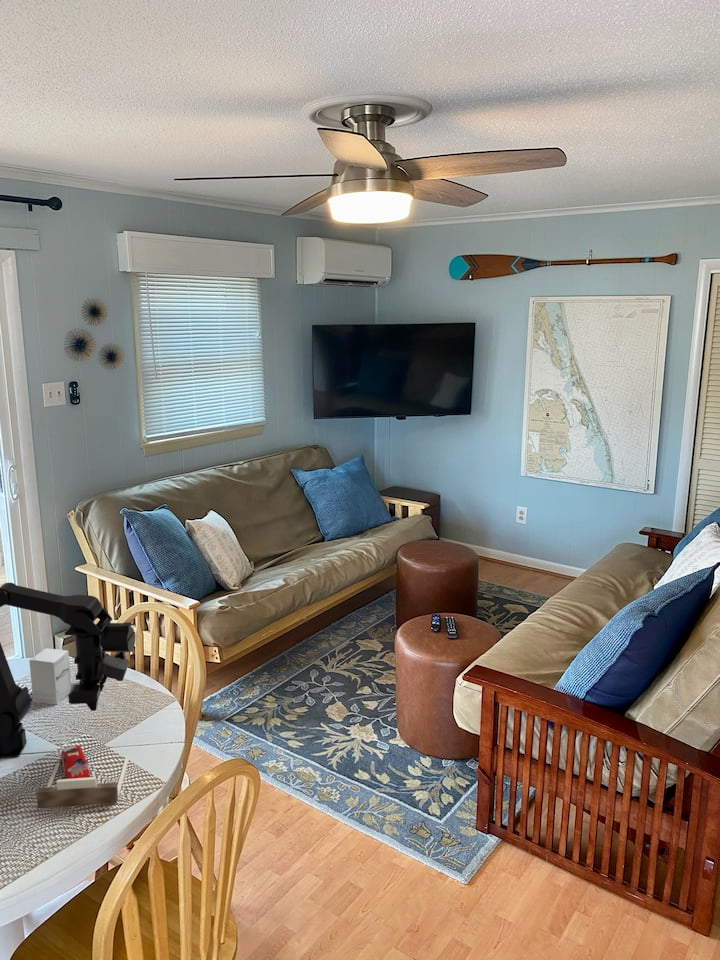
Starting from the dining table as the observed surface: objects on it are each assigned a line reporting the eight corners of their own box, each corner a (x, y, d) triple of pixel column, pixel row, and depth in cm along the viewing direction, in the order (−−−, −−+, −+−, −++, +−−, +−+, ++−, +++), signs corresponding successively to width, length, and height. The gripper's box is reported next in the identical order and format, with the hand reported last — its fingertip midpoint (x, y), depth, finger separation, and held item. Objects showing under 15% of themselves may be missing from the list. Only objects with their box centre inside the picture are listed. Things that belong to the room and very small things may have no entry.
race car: (92, 784, 165) (91, 769, 164) (66, 791, 162) (65, 776, 161) (83, 752, 176) (82, 738, 175) (59, 758, 174) (58, 744, 173)
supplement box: (56, 705, 195) (53, 662, 192) (32, 702, 197) (28, 659, 194) (72, 691, 202) (69, 650, 199) (48, 688, 204) (45, 647, 201)
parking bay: (37, 808, 156) (35, 784, 155) (56, 764, 171) (54, 741, 170) (116, 802, 159) (115, 778, 157) (128, 759, 173) (127, 737, 172)
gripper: (117, 668, 162) (122, 730, 166) (131, 630, 180) (135, 687, 183) (65, 670, 160) (71, 733, 164) (84, 633, 178) (89, 690, 182)
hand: (93, 709), depth 173 cm, fingers closed
